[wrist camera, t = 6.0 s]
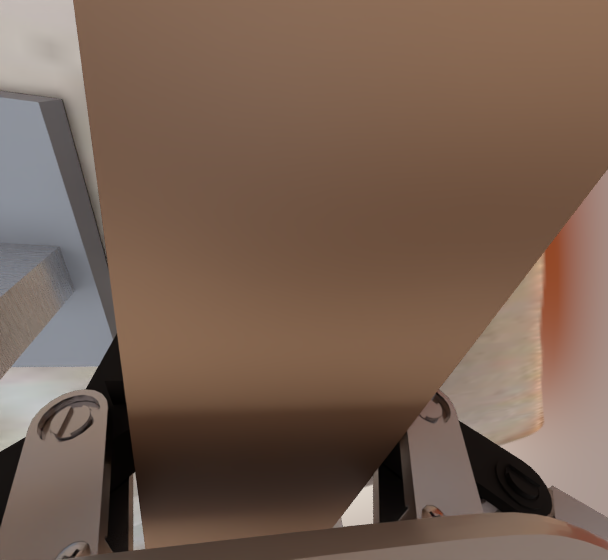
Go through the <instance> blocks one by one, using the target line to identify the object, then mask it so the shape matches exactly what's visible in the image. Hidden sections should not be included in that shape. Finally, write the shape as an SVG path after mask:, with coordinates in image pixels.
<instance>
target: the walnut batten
mask: <svg viewBox="0 0 608 560" xmlns="http://www.w3.org/2000/svg"><path fill="white" fill-rule="evenodd" d="M73 3H74V10H75V18H76V25H77V33H78V41H79V48H80V56H81V63H82V71H83V78H84V86H85V94H86V101H87V109H88V116H89V124H90V132H91V139H92V147H93V154H94V162H95V170H96V177H97V185H98V192H99V200H100V207H101V215H102V223H103V230H104V238H105V245H106V253H107V261H108V268H109V276H110V283H111V291H112V299H113V306H114V314H115V321H116V329H117V336H118V344H119V352H120V359H121V367H122V374H123V382H124V390H125V397H126V405H127V412H128V420H129V428H130V435H131V443H132V450H133V458H134V465H135V473H136V481H137V488H138V496H139V503H140V511H141V519H142V526H143V534H144V541H145V549H152V548H160V547H169V546H177V545H186V544H195V543H203V542H212V541H221V540H230V539H239V538H248V537H257V536H266V535H275V534H284V533H293V532H302V531H311V530H320V529H329V528H333V527H334V525H335V524H336V523H337V521H338V520H339V519H340V517H341V516H342V515H343V514H344V512H345V511H346V510H347V508H348V507H349V506H350V504H351V503H352V502H353V500H354V499H355V498H356V497H357V495H358V494H359V493H360V491H361V490H362V489H363V487H364V486H365V485H366V484H367V482H368V481H369V480H370V478H371V477H372V476H373V474H374V473H375V472H376V470H377V469H378V468H379V467H380V465H381V464H382V463H383V461H384V460H385V459H386V457H387V456H388V455H389V454H390V452H391V451H392V450H393V448H394V447H395V446H396V444H397V443H398V442H399V440H400V439H401V438H402V437H403V435H404V434H405V433H406V431H407V430H408V429H409V427H410V426H411V425H412V424H413V422H414V421H415V420H416V418H417V417H418V416H419V414H420V413H421V412H422V410H423V409H424V408H425V407H426V405H427V404H428V403H429V401H430V400H431V399H432V397H433V396H434V395H435V394H436V392H437V391H438V390H439V388H440V387H441V386H442V384H443V383H444V382H445V380H446V379H447V378H448V377H449V375H450V374H451V373H452V371H453V370H454V369H455V367H456V366H457V365H458V364H459V362H460V361H461V360H462V358H463V357H464V356H465V354H466V353H467V352H468V350H469V349H470V348H471V347H472V345H473V344H474V343H475V341H476V340H477V339H478V337H479V336H480V335H481V334H482V332H483V331H484V330H485V328H486V327H487V326H488V324H489V323H490V322H491V320H492V319H493V318H494V317H495V315H496V314H497V313H498V311H499V310H500V309H501V307H502V306H503V305H504V304H505V302H506V301H507V300H508V298H509V297H510V296H511V294H512V293H513V292H514V290H515V289H516V288H517V287H518V285H519V284H520V283H521V281H522V280H523V279H524V277H525V276H526V275H527V274H528V272H529V271H530V270H531V268H532V267H533V266H534V264H535V263H536V262H537V260H538V259H539V258H540V257H541V255H542V254H543V253H544V251H545V250H546V249H547V247H548V246H549V245H550V244H551V242H552V241H553V240H554V238H555V237H556V236H557V234H558V233H559V232H560V230H561V229H562V228H563V227H564V225H565V224H566V223H567V221H568V220H569V219H570V217H571V216H572V215H573V214H574V212H575V211H576V210H577V208H578V207H579V206H580V204H581V203H582V202H583V200H584V199H585V198H586V197H587V195H588V194H589V192H590V191H591V190H592V189H593V187H594V186H595V185H596V183H597V182H598V181H599V180H600V178H601V177H602V176H603V174H604V173H605V172H606V170H607V169H608V0H73Z"/></svg>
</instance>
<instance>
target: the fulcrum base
mask: <svg viewBox="0 0 608 560" xmlns="http://www.w3.org/2000/svg"><path fill="white" fill-rule="evenodd" d="M0 243H13V244H31V245H49V246H59V247H60V249H61V252H62V255H63V258H64V260H65V263H66V266H67V269H68V271H69V274H70V277H71V279H72V282H73V285H74V288H75V292H74V293H73V294H72V295H71V296H70V298H69V299H68V300H67V301H66V302H65V304H64V305H63V306H62V307H61V308H60V309H59V311H58V312H57V313H56V314H55V315H54V317H53V318H52V319H51V320H50V321H49V322H48V324H47V325H46V326H45V327H44V328H43V330H42V331H41V332H40V333H39V334H38V336H37V337H36V338H35V339H34V340H33V341H32V343H31V344H30V345H29V346H28V347H27V349H26V350H25V351H24V352H23V353H22V355H21V356H20V357H19V358H18V359H17V360H16V362H15V363H14V364H13V365H12V366H11V367H75V366H99V365H100V363H101V361H102V359H103V357H104V355H105V354H106V352H107V350H108V348H109V346H110V345H111V343H112V341H113V339H114V337H115V336H116V334H117V329H116V321H115V314H114V306H113V299H112V291H111V283H110V276H109V269H108V266H107V262H106V258H105V255H104V251H103V247H102V244H101V240H100V237H99V233H98V229H97V226H96V222H95V218H94V215H93V211H92V207H91V204H90V200H89V197H88V193H87V189H86V186H85V182H84V178H83V175H82V171H81V168H80V164H79V160H78V157H77V153H76V149H75V146H74V142H73V138H72V135H71V131H70V128H69V124H68V120H67V117H66V113H65V109H64V106H63V102H62V99H57V98H49V97H42V96H35V95H27V94H20V93H13V92H5V91H0Z"/></svg>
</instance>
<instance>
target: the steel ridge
mask: <svg viewBox="0 0 608 560" xmlns="http://www.w3.org/2000/svg"><path fill="white" fill-rule="evenodd" d="M74 292H75V288H74V285H73V282H72V279H71V277H70V274H69V271H68V269H67V266H66V263H65V260H64V258H63V255H62V252H61V249H60V247H59V246H49V245H31V244H13V243H0V379H1V378H2V377H3V376H4V375H5V373H6V372H7V371H8V370H9V369H10V368H11V366H12V365H13V364H14V363H15V362H16V360H17V359H18V358H19V357H20V356H21V355H22V353H23V352H24V351H25V350H26V349H27V347H28V346H29V345H30V344H31V343H32V341H33V340H34V339H35V338H36V337H37V336H38V334H39V333H40V332H41V331H42V330H43V328H44V327H45V326H46V325H47V324H48V322H49V321H50V320H51V319H52V318H53V317H54V315H55V314H56V313H57V312H58V311H59V309H60V308H61V307H62V306H63V305H64V304H65V302H66V301H67V300H68V299H69V298H70V296H71V295H72V294H73V293H74Z"/></svg>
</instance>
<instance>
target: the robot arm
mask: <svg viewBox="0 0 608 560" xmlns="http://www.w3.org/2000/svg"><path fill="white" fill-rule="evenodd" d="M134 472H135V465H134V458H133V450H132V443H131V435H130V428H129V420H128V412H127V405H126V397H125V390H124V382H123V374H122V367H121V359H120V352H119V344H118V336H117V334H116V336H115V337H114V339H113V341H112V343H111V345H110V346H109V348H108V350H107V352H106V354H105V355H104V357H103V359H102V361H101V363H100V365H99V366H98V368H97V370H96V372H95V374H94V375H93V377H92V379H91V381H90V383H89V384H88V386H87V388H86V389H84V390H77V391H72V392H69V393H66V394H63V395H61V396H59V397H58V398H56V399H54V400H52V401H51V402H49V403H48V404H47V405H45V406H44V407H43V408H42V409H41V410H40V411H39V412H38V413H37V414H36V415H35V417H34V418H33V419H32V421H31V423H30V426H29V428H28V431H27V434H26V437H25V438H23V439H22V440H20V441H18V442H16V443H15V444H13V445H11V446H10V447H8V448H6V449H4V450H3V451H1V452H0V560H608V518H607V517H605V516H604V515H602V514H601V513H599V512H597V511H595V510H594V509H592V508H590V507H588V506H587V505H585V504H583V503H582V502H580V501H578V500H576V499H575V498H573V497H571V496H570V495H568V494H566V493H564V492H563V491H561V490H559V489H557V488H556V487H554V486H551V487H550V488H547V486H546V485H545V484H544V482H543V481H542V479H541V478H540V476H539V475H538V474H537V473H536V472H535V471H534V470H533V469H532V468H531V467H530V466H528V465H527V464H526V463H524V462H523V461H522V460H520V459H518V458H517V457H515V456H514V455H512V454H511V453H509V452H508V451H506V450H505V449H503V448H501V447H500V446H498V445H497V444H495V443H493V442H492V441H490V440H489V439H487V438H486V437H484V436H482V435H481V434H479V433H478V432H476V431H474V430H473V429H471V428H470V427H468V426H467V425H465V424H463V423H462V422H460V421H459V420H458V417H457V413H456V410H455V408H454V405H453V403H452V402H451V401H450V399H449V398H448V397H447V396H446V395H445V394H444V393H443V392H442V391H440V390H438V391H437V392H436V394H435V395H434V396H433V397H432V399H431V400H430V401H429V403H428V404H427V405H426V407H425V408H424V409H423V410H422V412H421V413H420V414H419V416H418V417H417V418H416V420H415V421H414V422H413V424H412V425H411V426H410V427H409V429H408V430H407V431H406V433H405V434H404V435H403V437H402V438H401V439H400V440H399V442H398V443H397V444H396V446H395V447H394V448H393V450H392V451H391V452H390V454H389V455H388V456H387V457H386V459H385V460H384V461H383V463H382V464H381V465H380V467H379V468H378V469H377V470H376V472H375V473H374V474H373V514H374V515H373V517H374V519H373V524H367V525H357V526H347V527H343V525H342V520H341V517H340V519H339V520H338V521H337V523H336V524H335V525H334V527H333V528H329V529H320V530H311V531H302V532H293V533H284V534H275V535H266V536H257V537H248V538H239V539H230V540H221V541H212V542H203V543H195V544H186V545H177V546H169V547H160V548H152V549H143V550H134V551H133V473H134Z"/></svg>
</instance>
